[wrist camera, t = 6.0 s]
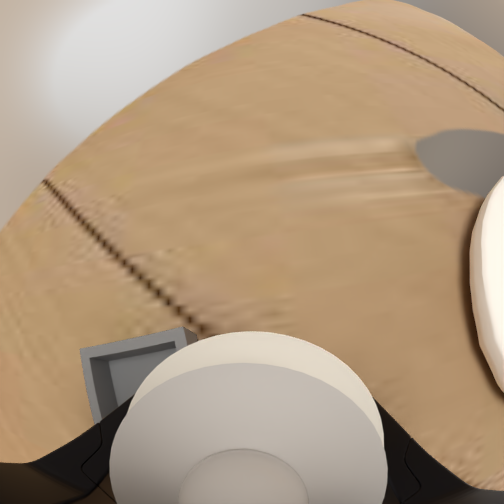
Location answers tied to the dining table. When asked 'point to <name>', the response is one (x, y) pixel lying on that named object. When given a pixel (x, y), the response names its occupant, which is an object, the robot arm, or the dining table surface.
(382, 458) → the salt mill
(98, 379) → the condiment caddy
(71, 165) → the dining table surface
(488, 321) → the plate
